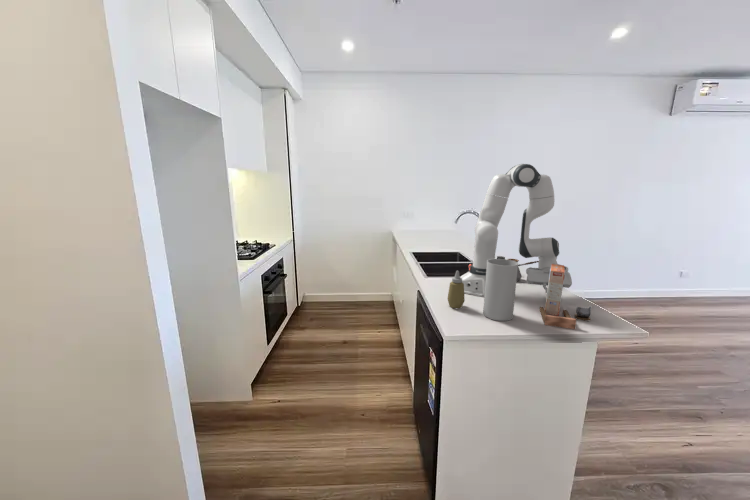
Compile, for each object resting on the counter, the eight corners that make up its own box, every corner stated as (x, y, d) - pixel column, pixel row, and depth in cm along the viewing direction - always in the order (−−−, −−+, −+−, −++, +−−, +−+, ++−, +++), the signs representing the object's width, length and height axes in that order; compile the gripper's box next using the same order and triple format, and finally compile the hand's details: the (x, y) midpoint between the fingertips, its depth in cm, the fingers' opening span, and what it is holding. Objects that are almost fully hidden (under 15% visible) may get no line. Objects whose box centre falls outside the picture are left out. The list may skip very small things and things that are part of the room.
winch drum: (576, 319, 133) (578, 307, 132) (574, 315, 137) (576, 304, 136) (591, 321, 131) (593, 309, 130) (588, 317, 135) (590, 305, 134)
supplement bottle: (506, 276, 197) (507, 258, 194) (494, 275, 198) (496, 257, 195) (503, 273, 203) (505, 255, 201) (493, 272, 204) (494, 255, 202)
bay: (544, 324, 128) (545, 316, 127) (539, 310, 143) (540, 302, 142) (574, 329, 124) (576, 320, 123) (566, 314, 139) (567, 305, 138)
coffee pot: (497, 279, 190) (499, 256, 187) (506, 276, 197) (508, 253, 194) (533, 288, 174) (536, 262, 171) (541, 283, 182) (544, 259, 179)
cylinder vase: (477, 311, 141) (481, 259, 136) (500, 308, 145) (504, 258, 140) (494, 323, 130) (499, 266, 124) (519, 319, 133) (524, 264, 128)
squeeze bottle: (452, 302, 153) (454, 267, 149) (467, 306, 147) (469, 271, 144) (443, 306, 148) (445, 271, 144) (458, 311, 142) (460, 274, 138)
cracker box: (559, 316, 136) (565, 271, 132) (544, 313, 139) (549, 270, 135) (559, 306, 148) (565, 264, 143) (545, 303, 151) (550, 263, 146)
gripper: (526, 264, 160) (526, 287, 154) (571, 267, 153) (573, 292, 146) (525, 270, 165) (525, 292, 159) (568, 273, 158) (570, 297, 151)
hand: (548, 292), depth 152 cm, fingers closed
